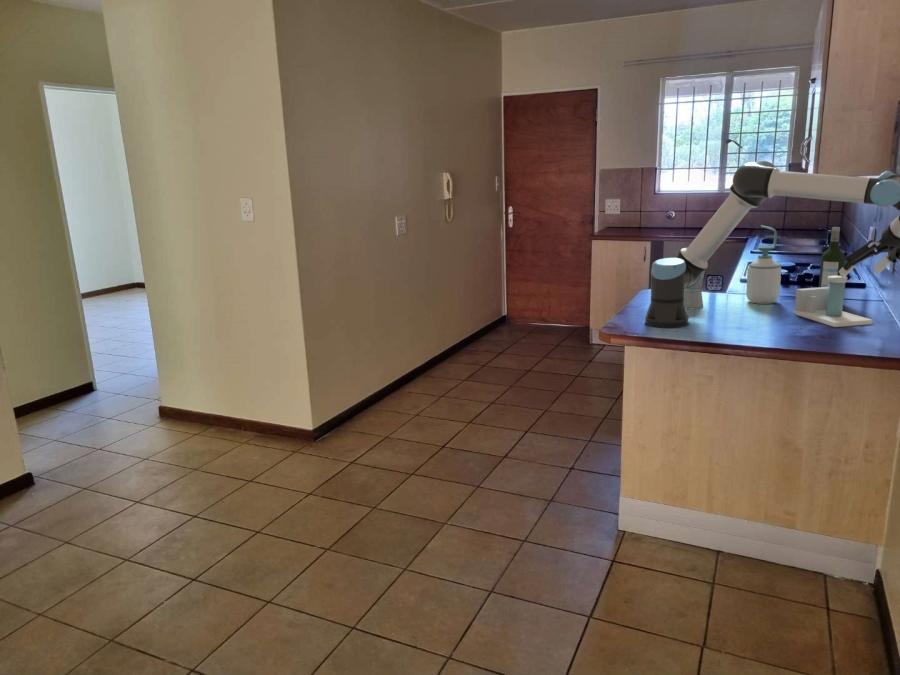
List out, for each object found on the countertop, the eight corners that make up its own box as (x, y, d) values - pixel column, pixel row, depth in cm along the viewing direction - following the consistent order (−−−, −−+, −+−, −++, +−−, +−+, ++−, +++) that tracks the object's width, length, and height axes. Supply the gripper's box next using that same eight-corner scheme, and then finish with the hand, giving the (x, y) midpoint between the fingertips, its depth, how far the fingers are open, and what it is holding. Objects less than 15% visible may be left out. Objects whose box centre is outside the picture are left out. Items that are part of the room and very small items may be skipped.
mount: (871, 323, 225) (875, 297, 223) (834, 327, 223) (837, 300, 221) (828, 311, 246) (830, 286, 244) (793, 313, 245) (796, 288, 242)
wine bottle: (838, 301, 261) (846, 226, 253) (841, 305, 254) (849, 228, 246) (816, 300, 264) (823, 226, 256) (817, 304, 257) (825, 228, 250)
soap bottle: (744, 298, 274) (748, 224, 266) (777, 298, 270) (782, 223, 261) (747, 305, 263) (751, 227, 254) (781, 305, 259) (786, 226, 250)
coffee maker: (693, 310, 258) (695, 265, 253) (673, 307, 264) (675, 263, 260) (713, 304, 267) (715, 260, 262) (693, 301, 273) (695, 259, 269)
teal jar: (847, 315, 231) (851, 277, 227) (831, 316, 230) (835, 278, 227) (835, 312, 237) (839, 275, 233) (820, 313, 236) (823, 276, 233)
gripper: (872, 243, 199) (832, 284, 217) (941, 237, 204) (895, 278, 222) (860, 225, 203) (821, 267, 221) (927, 219, 207) (884, 260, 225)
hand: (858, 272), depth 221 cm, fingers open, 13 cm apart
